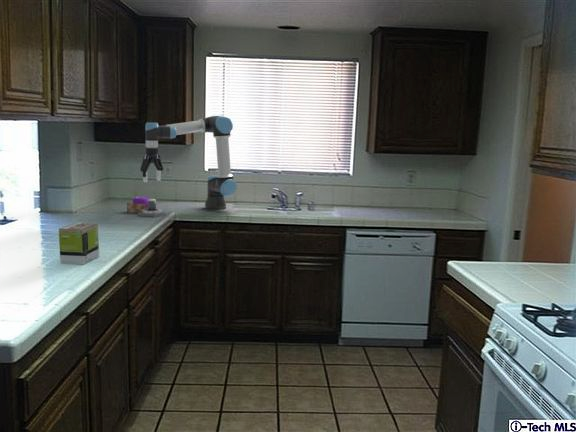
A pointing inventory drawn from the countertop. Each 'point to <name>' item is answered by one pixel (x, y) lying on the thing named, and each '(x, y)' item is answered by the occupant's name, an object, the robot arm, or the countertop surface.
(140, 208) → the stop bar
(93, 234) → the tea box
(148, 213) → the mount
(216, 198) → the robot arm
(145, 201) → the toy camera
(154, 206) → the lens
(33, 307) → the countertop surface
